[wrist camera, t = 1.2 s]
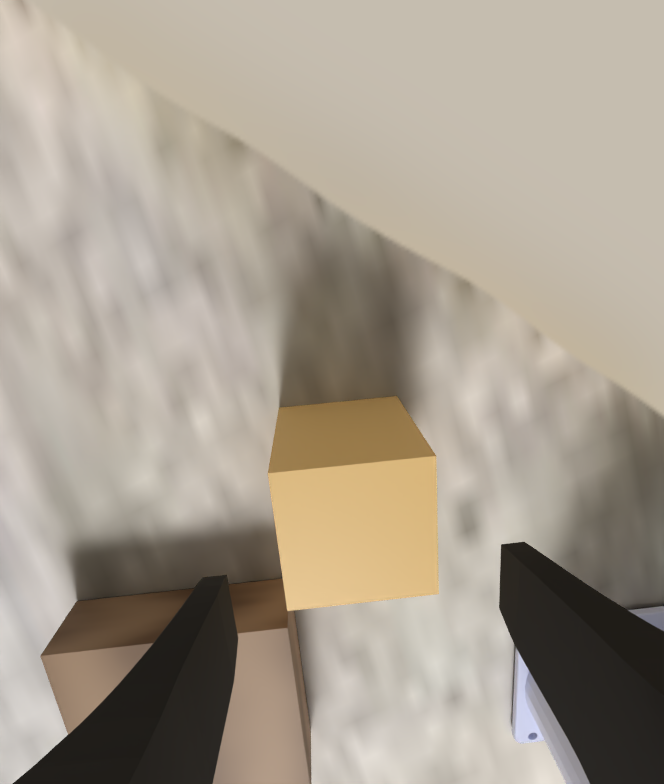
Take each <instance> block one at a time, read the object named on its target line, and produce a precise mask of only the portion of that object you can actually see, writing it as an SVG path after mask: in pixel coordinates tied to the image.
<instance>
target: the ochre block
mask: <svg viewBox="0 0 664 784" xmlns="http://www.w3.org/2000/svg"><path fill="white" fill-rule="evenodd" d="M268 478H269V485H270V492H271V499H272V506H273V513H274V520H275V527H276V535H277V542H278V549H279V556H280V563H281V570H282V577H283V584H284V591H285V598H286V605H287V611H293V610H301V609H310V608H319V607H328V606H337V605H346V604H354V603H363V602H372V601H381V600H390V599H399V598H407V597H416V596H425V595H434V594H439V585H438V530H437V474H436V455H435V453H434V452H433V450H432V449H431V447H430V446H429V444H428V443H427V441H426V440H425V438H424V437H423V435H422V434H421V432H420V431H419V429H418V428H417V426H416V424H415V423H414V421H413V420H412V418H411V417H410V415H409V414H408V412H407V411H406V409H405V408H404V406H403V405H402V403H401V402H400V400H399V399H398V397H397V396H392V397H382V398H372V399H362V400H352V401H342V402H331V403H321V404H311V405H301V406H291V407H281V408H279V411H278V417H277V423H276V429H275V434H274V440H273V446H272V452H271V458H270V464H269V470H268Z"/></svg>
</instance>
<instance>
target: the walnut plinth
mask: <svg viewBox="0 0 664 784" xmlns="http://www.w3.org/2000/svg"><path fill="white" fill-rule="evenodd" d="M193 590H194V588H193V589H184V590H175V591H166V592H157V593H148V594H139V595H130V596H121V597H112V598H103V599H94V600H85V601H77V602H76V603H75V605H74V606H73V608H72V609H71V611H70V612H69V614H68V615H67V617H66V618H65V620H64V621H63V623H62V624H61V626H60V627H59V629H58V630H57V632H56V633H55V635H54V636H53V638H52V639H51V641H50V642H49V644H48V645H47V647H46V648H45V650H44V651H43V653H42V654H41V659H42V662H43V665H44V667H45V670H46V673H47V676H48V679H49V682H50V684H51V687H52V690H53V693H54V696H55V699H56V701H57V704H58V707H59V710H60V713H61V716H62V718H63V721H64V724H65V727H66V730H67V732H68V735H69V734H70V733H71V732H72V731H73V730H74V729H75V728H76V727H77V726H78V725H79V724H80V723H81V722H83V721H84V720H85V719H86V718H87V717H88V716H89V715H90V714H91V713H92V712H93V711H94V710H95V708H96V707H97V706H98V705H99V704H100V703H101V702H102V701H103V700H104V699H105V698H106V697H107V696H108V695H109V694H110V693H111V692H112V691H113V690H114V688H115V687H116V686H117V685H118V684H119V683H120V682H121V681H122V680H123V679H124V677H125V676H126V675H127V674H128V673H129V672H130V670H131V669H132V668H133V667H134V666H135V664H136V663H137V662H138V661H139V660H140V659H141V657H142V656H143V655H144V654H145V653H146V652H147V650H148V649H149V648H150V647H151V645H152V644H153V643H154V642H155V640H156V639H157V638H158V636H159V635H160V634H161V633H162V631H163V630H164V629H165V627H166V626H167V625H168V624H169V622H170V621H171V620H172V618H173V617H174V616H175V614H176V613H177V612H178V610H179V609H180V608H181V606H182V605H183V604H184V602H185V601H186V599H187V598H188V597H189V595H190V594H191V593H192V591H193ZM229 591H230V596H231V601H232V607H233V612H234V618H235V623H236V628H237V634H238V647H237V658H236V668H235V677H234V684H233V689H232V694H231V699H230V703H229V708H228V713H227V718H226V723H225V727H224V732H223V737H222V742H221V746H220V751H219V756H218V760H217V765H216V770H215V775H214V779H213V784H311V730H310V723H309V715H308V708H307V701H306V693H305V686H304V679H303V671H302V664H301V656H300V649H299V642H298V634H297V627H296V619H295V612H294V610H293V611H287V605H286V598H285V591H284V584H283V579H274V580H265V581H256V582H247V583H238V584H229Z"/></svg>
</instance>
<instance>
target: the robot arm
mask: <svg viewBox="0 0 664 784" xmlns="http://www.w3.org/2000/svg"><path fill="white" fill-rule="evenodd" d="M499 608H500V611H501V613H502V616H503V618H504V621H505V623H506V626H507V628H508V630H509V633H510V635H511V637H512V639H513V642H514V644H515V646H516V652H515V674H514V696H513V719H512V734H513V737H514V739H515V741H516V742H518V743H530V742H538V741H545V742H546V744H547V746H548V748H549V750H550V752H551V754H552V756H553V758H554V760H555V762H556V764H557V766H558V768H559V770H560V772H561V774H562V776H563V778H564V780H565V782H566V784H664V606H660V607H651V608H643V609H634V610H626V609H625V608H623V607H621V606H620V605H618V604H616V603H615V602H613V601H612V600H610V599H608V598H607V597H605V596H604V595H602V594H601V593H599V592H598V591H596V590H594V589H593V588H591V587H590V586H588V585H587V584H585V583H584V582H582V581H581V580H579V579H578V578H576V577H575V576H574V575H572V574H571V573H569V572H568V571H566V570H565V569H563V568H562V567H560V566H559V565H557V564H556V563H555V562H553V561H552V560H550V559H549V558H547V557H546V556H544V555H543V554H542V553H540V552H539V551H537V550H536V549H534V548H533V547H531V546H530V545H528V544H527V543H525V542H519V543H510V544H501V570H500V602H499ZM237 647H238V634H237V628H236V623H235V618H234V612H233V607H232V601H231V596H230V591H229V585H228V580H227V575H222V576H213V577H204V578H202V579H201V581H200V582H199V583H198V584H197V586H196V587H195V588H194V590H193V591H192V593H191V594H190V595H189V597H188V598H187V599H186V601H185V602H184V604H183V605H182V606H181V608H180V609H179V610H178V612H177V613H176V614H175V616H174V617H173V618H172V620H171V621H170V622H169V624H168V625H167V626H166V627H165V629H164V630H163V631H162V633H161V634H160V635H159V636H158V638H157V639H156V640H155V642H154V643H153V644H152V645H151V647H150V648H149V649H148V650H147V652H146V653H145V654H144V655H143V656H142V657H141V659H140V660H139V661H138V662H137V663H136V664H135V666H134V667H133V668H132V669H131V670H130V672H129V673H128V674H127V675H126V676H125V677H124V679H123V680H122V681H121V682H120V683H119V684H118V685H117V686H116V687H115V688H114V690H113V691H112V692H111V693H110V694H109V695H108V696H107V697H106V698H105V699H104V700H103V701H102V702H101V703H100V704H99V705H98V706H97V707H96V708H95V710H94V711H93V712H92V713H91V714H90V715H89V716H88V717H87V718H86V719H85V720H84V721H83V722H81V723H80V724H79V725H78V726H77V727H76V728H75V729H74V730H73V731H72V732H71V733H70V734H69V735H67V736H66V737H65V738H64V739H63V740H62V741H61V742H60V743H59V744H58V745H56V746H55V747H54V748H53V749H52V750H51V751H50V752H49V753H48V754H47V755H46V756H44V757H43V758H42V759H41V760H40V761H39V762H38V763H37V764H36V765H34V766H33V767H32V768H31V769H30V770H29V771H27V772H26V773H25V774H24V775H23V776H21V777H20V778H19V779H18V780H17V781H15V782H14V783H13V784H213V779H214V775H215V770H216V765H217V760H218V756H219V751H220V746H221V742H222V737H223V732H224V727H225V723H226V718H227V713H228V708H229V703H230V699H231V694H232V689H233V684H234V677H235V668H236V658H237Z"/></svg>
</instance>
